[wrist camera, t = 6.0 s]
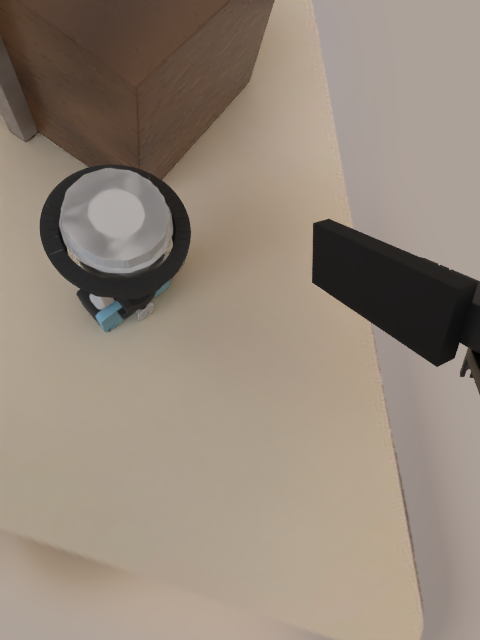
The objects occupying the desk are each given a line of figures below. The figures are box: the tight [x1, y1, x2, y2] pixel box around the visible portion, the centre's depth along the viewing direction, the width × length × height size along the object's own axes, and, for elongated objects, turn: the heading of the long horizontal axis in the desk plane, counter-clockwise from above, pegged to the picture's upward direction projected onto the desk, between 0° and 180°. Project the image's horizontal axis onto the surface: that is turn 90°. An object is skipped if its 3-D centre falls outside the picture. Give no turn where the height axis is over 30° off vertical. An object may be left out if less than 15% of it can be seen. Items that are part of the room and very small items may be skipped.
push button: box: [40, 164, 191, 333], centre depth 17 cm, size 7×5×10 cm
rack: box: [0, 0, 274, 180], centre depth 20 cm, size 9×16×12 cm, turn 149°
